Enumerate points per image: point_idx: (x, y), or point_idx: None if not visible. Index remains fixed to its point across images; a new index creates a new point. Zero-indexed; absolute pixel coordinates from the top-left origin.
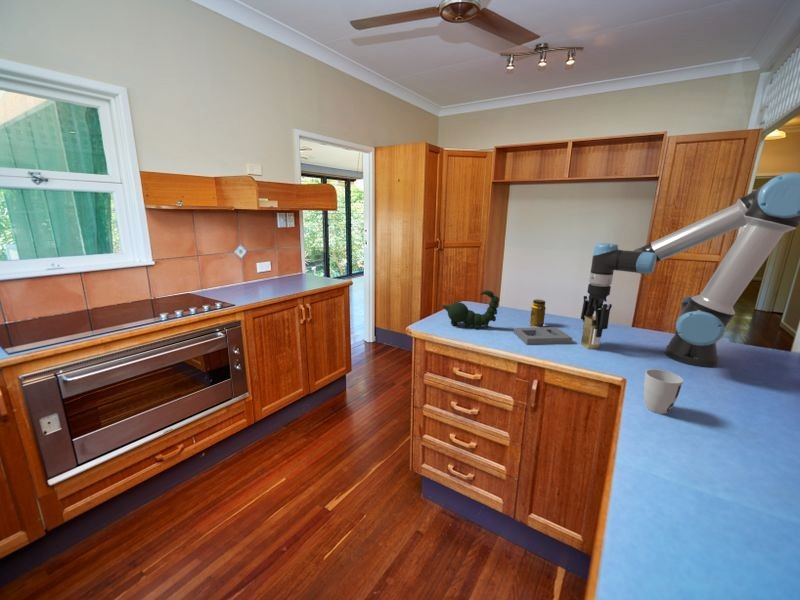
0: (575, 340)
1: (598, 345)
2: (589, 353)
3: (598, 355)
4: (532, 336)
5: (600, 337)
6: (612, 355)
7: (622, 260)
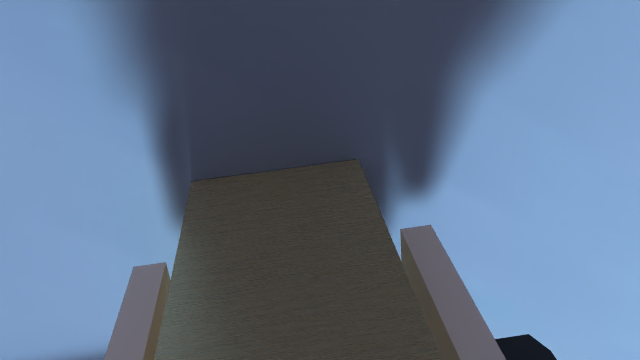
0: (63, 323)
1: (369, 189)
2: (499, 321)
3: (565, 255)
4: None
5: (473, 302)
6: (597, 87)
7: None
